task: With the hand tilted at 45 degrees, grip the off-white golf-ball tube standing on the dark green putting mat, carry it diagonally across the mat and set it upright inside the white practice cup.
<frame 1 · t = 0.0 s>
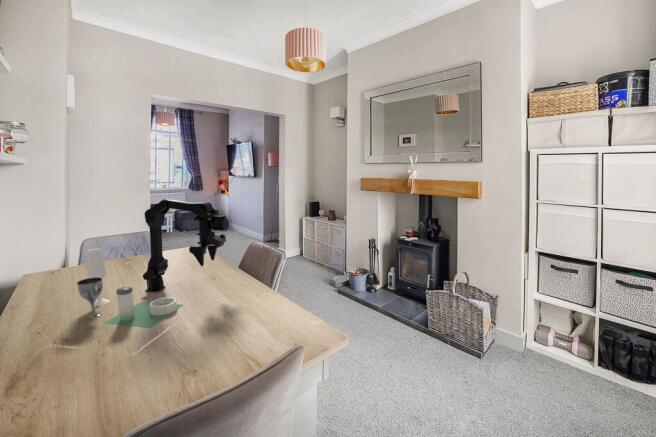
hand: (207, 263, 149), 15 cm above the table, tool pointing down, fingers open, 9 cm apart
wine glass: (94, 317, 128), on the table
putting green: (146, 314, 129), on the table
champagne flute: (100, 303, 141), on the table
golf ball tube: (127, 318, 125), point 1 cm above the table, touching putting green
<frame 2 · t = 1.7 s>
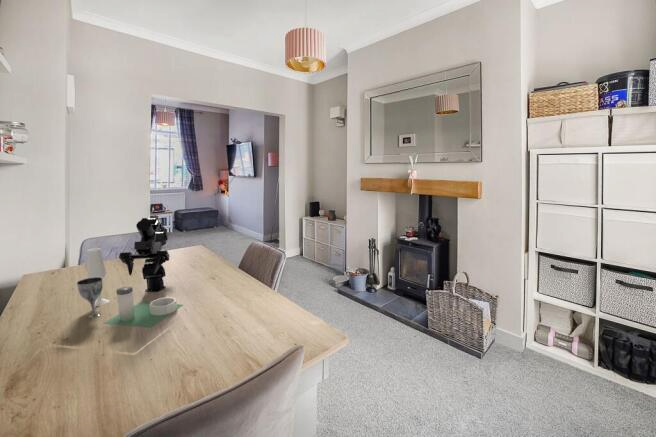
hand: (142, 274, 137), 13 cm above the table, tool tilted 45°, fingers open, 9 cm apart
nothing on the table moved.
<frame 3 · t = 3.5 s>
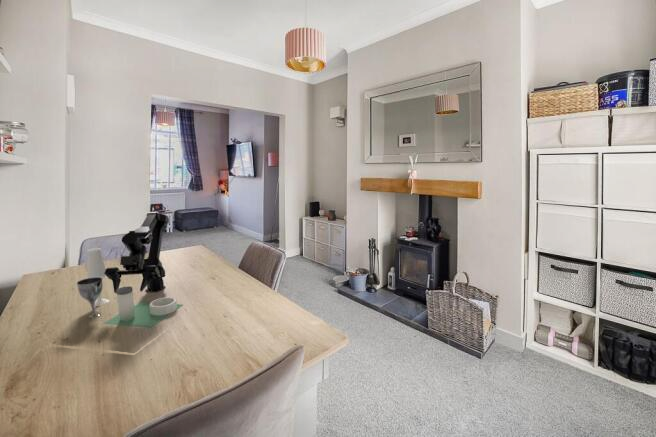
hand: (128, 291, 126), 10 cm above the table, tool tilted 45°, fingers open, 9 cm apart
nothing on the table moved.
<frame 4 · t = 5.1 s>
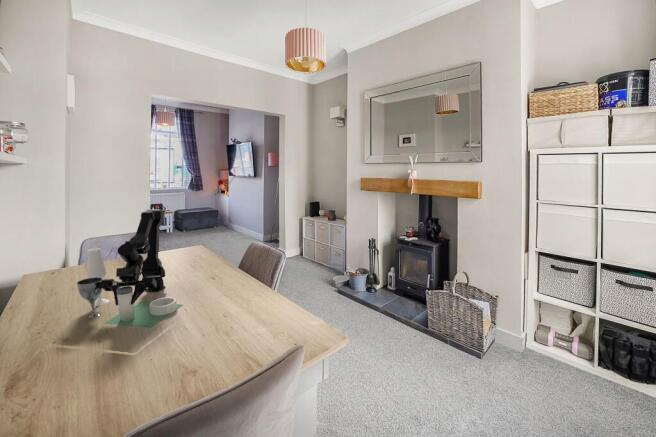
hand: (124, 304, 123), 7 cm above the table, tool tilted 45°, fingers closed on golf ball tube, 5 cm apart
golf ball tube: (127, 318, 125), point 1 cm above the table, touching gripper, putting green
everything else where it was.
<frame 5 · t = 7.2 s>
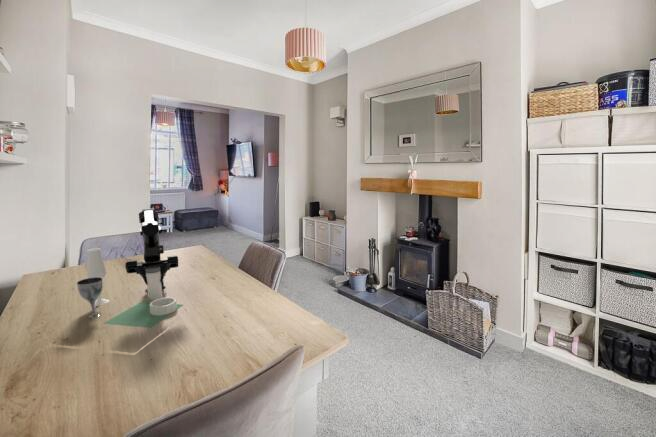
hand: (154, 283, 127), 13 cm above the table, tool tilted 45°, fingers closed on golf ball tube, 5 cm apart
golf ball tube: (155, 296, 129), point 7 cm above the table, touching gripper
everything else where it was.
when the fingers open (8 cm above the table, at t = 9.1 s): golf ball tube drops 1 cm, resting on putting green.
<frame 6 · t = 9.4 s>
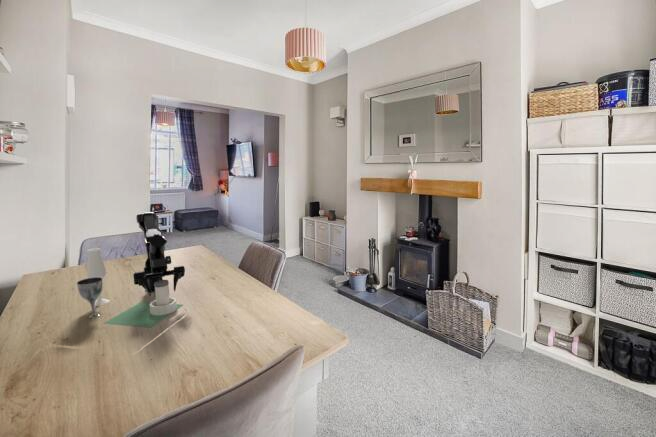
hand: (162, 293, 130), 8 cm above the table, tool tilted 45°, fingers open, 9 cm apart
golf ball tube: (163, 309, 132), point 1 cm above the table, touching putting green
everything else where it was.
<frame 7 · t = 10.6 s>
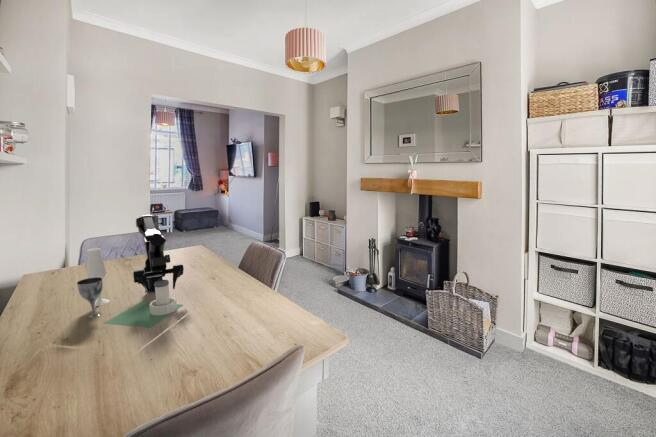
hand: (161, 291, 133), 8 cm above the table, tool tilted 45°, fingers open, 9 cm apart
nothing on the table moved.
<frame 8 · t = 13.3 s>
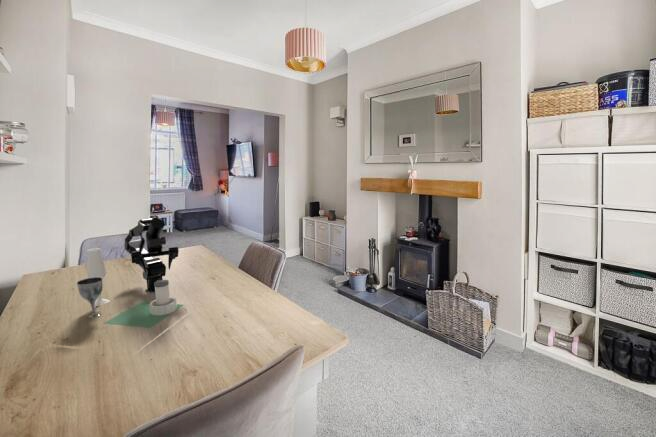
hand: (157, 270, 141), 14 cm above the table, tool tilted 45°, fingers open, 9 cm apart
nothing on the table moved.
at the end: golf ball tube 0.0 cm from the target spot on the putting green, point 0.7 cm above the putting green's base; golf ball tube tilted 0°; the gripper is holding nothing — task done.
